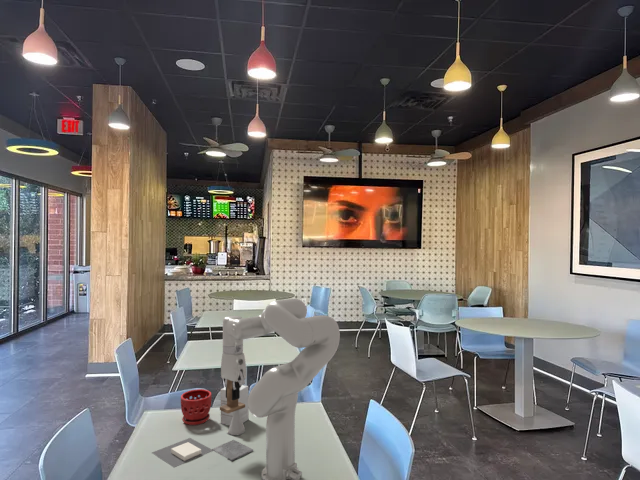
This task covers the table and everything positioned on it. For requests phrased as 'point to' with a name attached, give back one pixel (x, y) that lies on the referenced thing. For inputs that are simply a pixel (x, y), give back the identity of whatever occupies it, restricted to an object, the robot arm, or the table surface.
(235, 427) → the flask
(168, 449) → the mat
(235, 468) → the table surface
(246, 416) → the supplement box
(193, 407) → the plant pot
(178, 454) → the tile
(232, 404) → the wooden post stand
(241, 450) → the plate
